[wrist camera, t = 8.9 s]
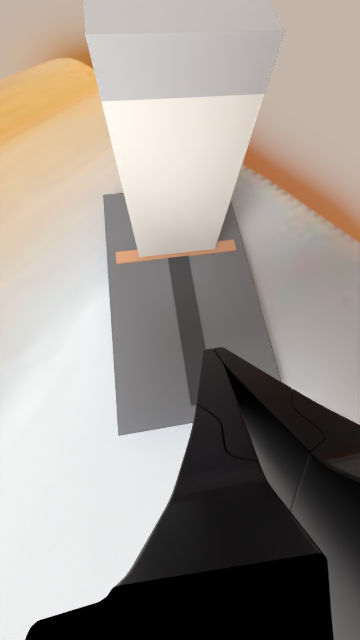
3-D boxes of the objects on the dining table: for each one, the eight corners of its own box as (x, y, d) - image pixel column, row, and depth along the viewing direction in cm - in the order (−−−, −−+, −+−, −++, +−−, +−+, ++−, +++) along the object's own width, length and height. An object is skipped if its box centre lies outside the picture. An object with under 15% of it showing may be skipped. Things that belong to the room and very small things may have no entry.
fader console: (276, 403, 16) (289, 406, 14) (123, 430, 15) (117, 436, 13) (222, 198, 21) (226, 183, 19) (108, 208, 20) (102, 193, 18)
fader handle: (214, 249, 17) (285, 30, 7) (139, 257, 17) (85, 34, 6) (207, 218, 18) (259, -18, 7) (135, 225, 17) (82, -18, 7)
